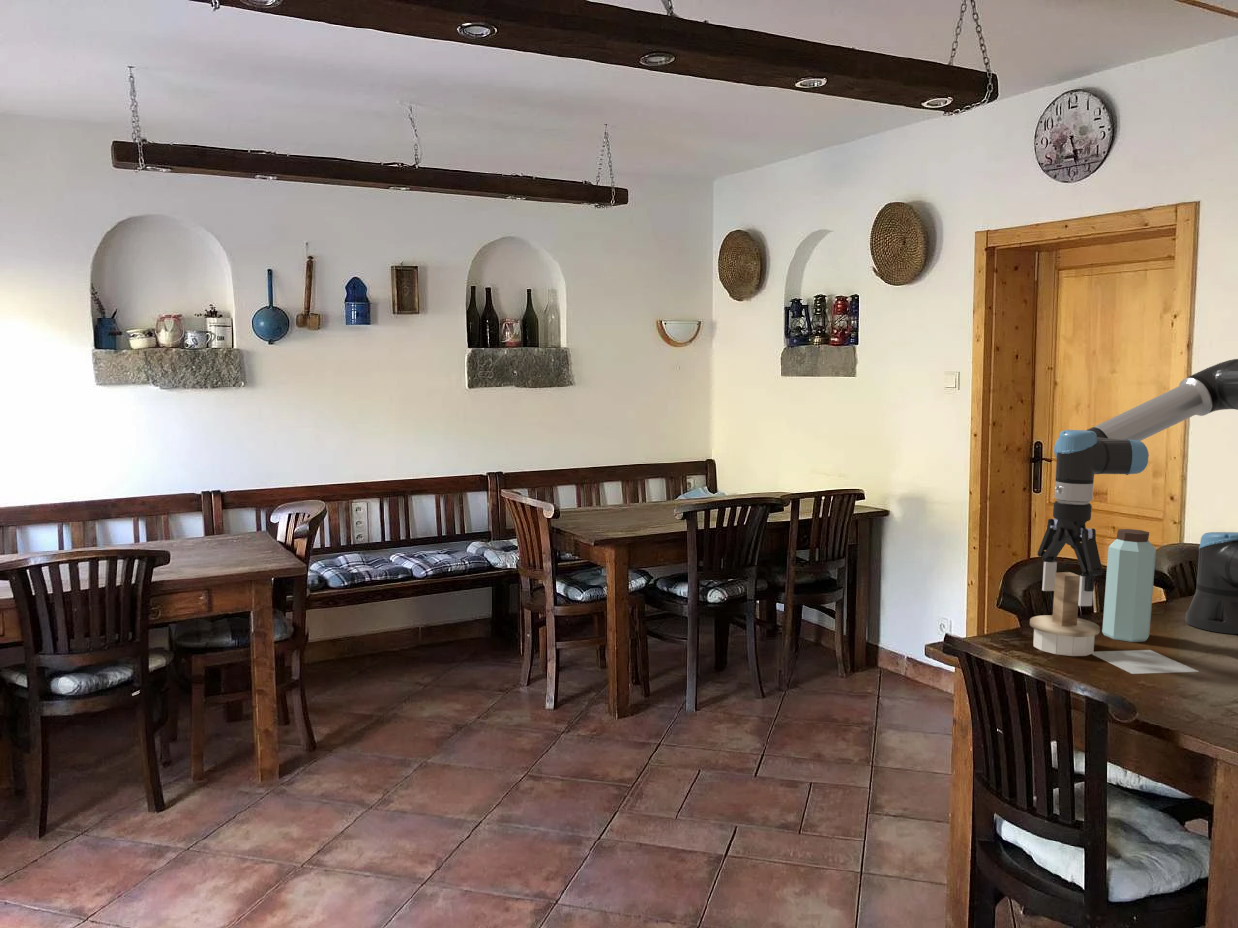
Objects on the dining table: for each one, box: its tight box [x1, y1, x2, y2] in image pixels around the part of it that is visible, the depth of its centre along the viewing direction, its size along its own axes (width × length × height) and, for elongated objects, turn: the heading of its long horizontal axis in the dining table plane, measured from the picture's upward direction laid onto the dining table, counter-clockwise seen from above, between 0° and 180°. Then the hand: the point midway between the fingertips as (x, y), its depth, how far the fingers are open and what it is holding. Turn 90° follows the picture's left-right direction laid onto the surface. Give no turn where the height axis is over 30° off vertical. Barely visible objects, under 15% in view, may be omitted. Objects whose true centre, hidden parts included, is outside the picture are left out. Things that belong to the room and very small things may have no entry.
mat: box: [1091, 649, 1200, 675], centre depth 211 cm, size 15×15×1 cm
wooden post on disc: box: [1029, 571, 1101, 637], centre depth 219 cm, size 14×14×12 cm
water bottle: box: [1101, 528, 1157, 643], centre depth 229 cm, size 10×10×25 cm
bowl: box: [1033, 628, 1096, 657], centre depth 220 cm, size 12×12×5 cm
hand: (1066, 597), depth 219 cm, fingers open, 13 cm apart
